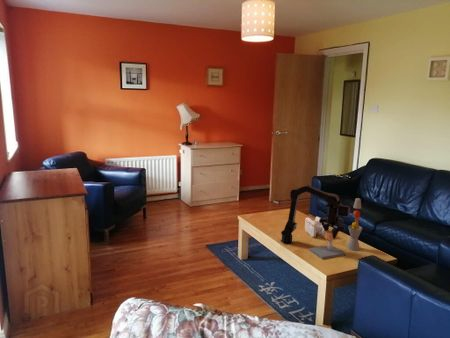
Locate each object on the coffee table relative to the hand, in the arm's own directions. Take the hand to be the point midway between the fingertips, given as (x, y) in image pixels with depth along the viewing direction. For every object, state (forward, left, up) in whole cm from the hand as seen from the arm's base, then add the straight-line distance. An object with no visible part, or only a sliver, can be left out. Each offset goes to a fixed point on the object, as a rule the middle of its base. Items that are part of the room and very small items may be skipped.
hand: (330, 236), depth 230 cm
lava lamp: (+20, 0, -11) cm, 23 cm away
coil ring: (0, 0, -1) cm, 1 cm away
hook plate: (-2, 0, -11) cm, 11 cm away
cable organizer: (+10, +30, -11) cm, 33 cm away
